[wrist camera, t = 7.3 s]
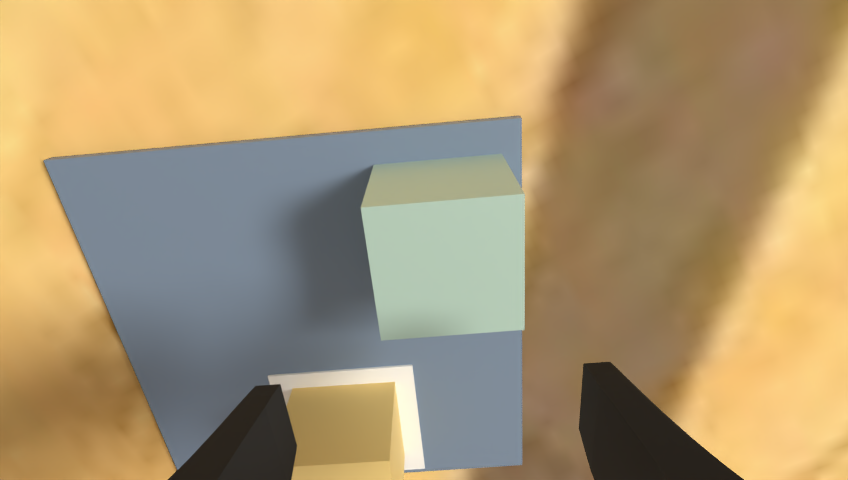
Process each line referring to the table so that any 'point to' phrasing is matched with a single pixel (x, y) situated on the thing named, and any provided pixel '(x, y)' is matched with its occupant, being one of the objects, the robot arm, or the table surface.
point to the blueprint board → (283, 284)
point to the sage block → (446, 247)
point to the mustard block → (347, 432)
